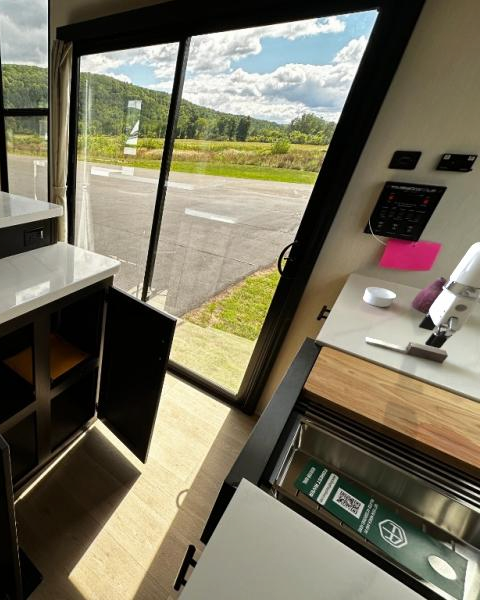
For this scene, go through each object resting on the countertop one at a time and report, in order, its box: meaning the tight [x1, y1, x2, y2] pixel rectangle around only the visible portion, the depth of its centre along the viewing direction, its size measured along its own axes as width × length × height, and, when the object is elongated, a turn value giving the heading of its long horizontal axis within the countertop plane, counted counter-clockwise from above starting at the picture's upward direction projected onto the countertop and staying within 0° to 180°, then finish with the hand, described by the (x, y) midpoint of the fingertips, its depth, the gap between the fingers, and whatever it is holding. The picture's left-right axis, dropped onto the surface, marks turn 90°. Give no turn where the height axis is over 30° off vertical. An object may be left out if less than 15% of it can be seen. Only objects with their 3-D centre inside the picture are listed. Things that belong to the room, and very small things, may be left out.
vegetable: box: [411, 275, 448, 314], centre depth 114 cm, size 10×10×15 cm
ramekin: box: [363, 286, 397, 308], centre depth 122 cm, size 9×9×4 cm
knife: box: [364, 336, 449, 364], centre depth 99 cm, size 18×3×3 cm, turn 56°
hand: (428, 337), depth 94 cm, fingers open, 9 cm apart
